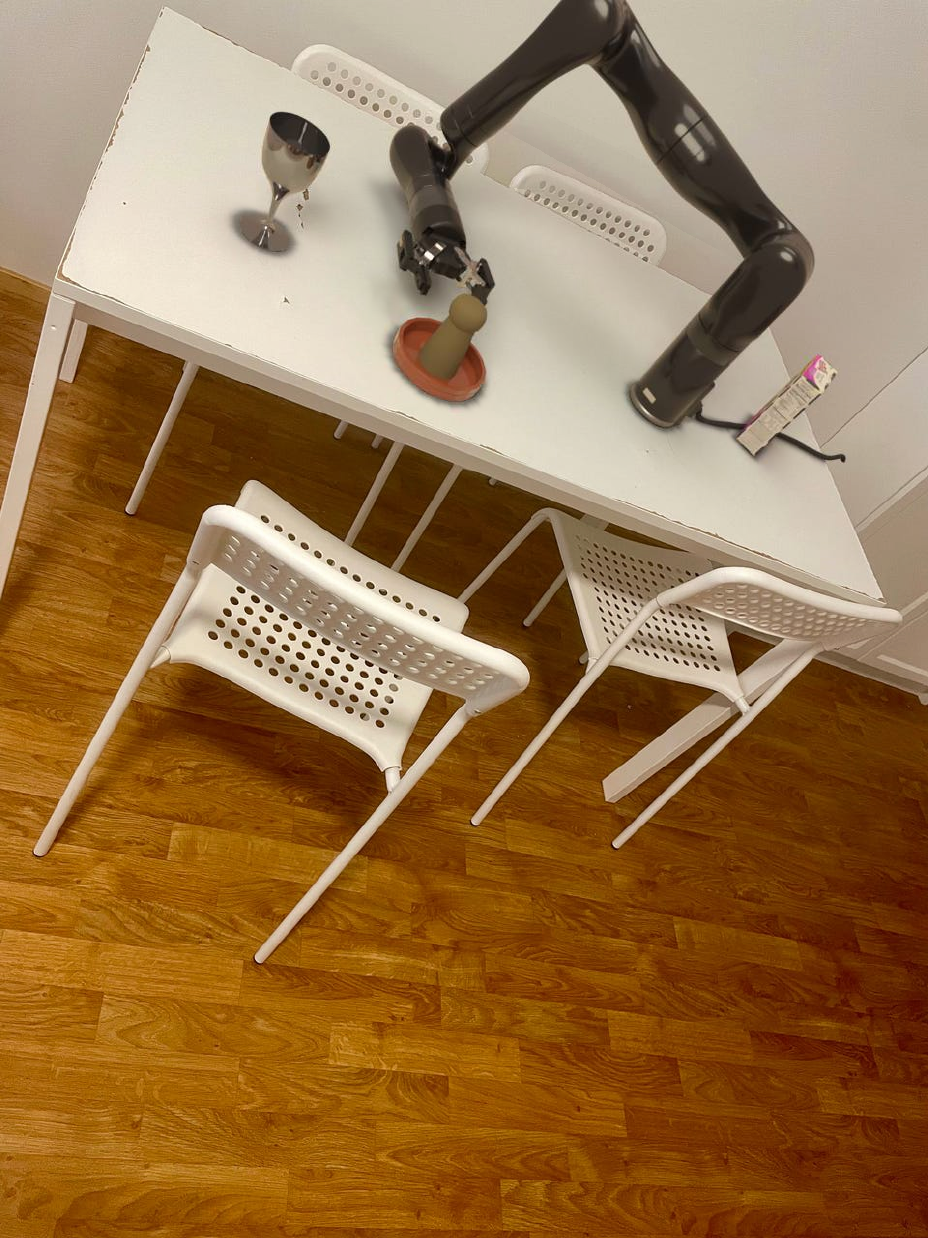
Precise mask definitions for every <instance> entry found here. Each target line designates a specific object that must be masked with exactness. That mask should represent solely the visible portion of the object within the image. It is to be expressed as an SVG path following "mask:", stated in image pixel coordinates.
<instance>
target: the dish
mask: <svg viewBox="0 0 928 1238" xmlns="http://www.w3.org/2000/svg"><path fill="white" fill-rule="evenodd" d="M443 322H444V321H440V320H437V319H434V318H430V317H419V316H417V317H414V318H411V319H407V320H406V321H405V322H403V324H402V325H400V327H399V329H398V331H397V333H396V334H395V337H394V339H393V341H392V353H393V357H394V359H395V362H396V364H397V366H398V368H399V369H400V370H401V372H402V373H403V374H404V376H405V377H406V378H407V379H408V380H409V381H410V382H411V383H412V384H413V385H415V386H416V387H417V388H419V389H421V390H422V391H423V392H425V393H427V394H429V395H431V396H432V397H435V398H436V399H437V398H438V399H441V400H444V401H449V402H463V401H467V400H469V399H471V398H473V397H474V396H475V395H476V394H477V392H478V391H479V390H480V388H481V387H482V385H483V384H484V383H485V380H486V374H487V369H486V365H485V360H484V359H483V356H482V355H481V353H480V351H479V350H478V349H477V347H476V346H475V345H474V344H473V343H472V342H470V344H469V346H468V348H467V351H466V353H465V355H464V357H463V359H462V362H461V364H460V366H459V368H458V371H457V373H456V375H455V376H454V377H453V378H451V379H442V378H438V377H436V376H434V375H432V374H431V373H429V372H428V371H427V370H426V369H425V368H424V367H423V366H422V364H421V363H420V361H419V357H418V354H419V351H420V350H421V349H422V347H423V346H424V345H425V344H426V342H427V341H428V340H429V339H430V338H431V336H432V335H433V334H434V333H435V331H436V330H437V329H438V328H439V327H440V325H441V324H442V323H443Z"/></svg>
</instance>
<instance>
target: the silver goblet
mask: <svg viewBox="0 0 928 1238" xmlns="http://www.w3.org/2000/svg"><path fill="white" fill-rule="evenodd" d="M330 150H331V143H330V140H329V138H328V137H327V136H326V134H325V133H324V132H323V131H322V130H321V129H320V128H319V127H318V126H317V125H315V123H313V122H311V121H310V120H308V119H306V118H304V117H303V116H300V115H298V114H296V113H292V112H288V111H276V112H273V113H271V114H270V116H269V119H268V121H267V124H266V128H265V131H264V135H263V138H262V145H261V166H262V171H263V172H264V174H265V177H266V179H267V181H268V184H269V186H270V189H271V190H270V191H271V202H270V207H269V210H268V214H267V217H266V216H264V215H259V214H246V215H243V216H242V217H241V218H240V219H239V222H238V226H239V227H238V228H239V230H240V231H241V233H242V235H243V236H244V237H245V238H246V239H247V240H248V241H249V242H250V243H251V244H254V245H255V246H257V247H259V248H261V249H263V250H266V251H270V252H278V253H279V252H283V251H286V250H287V249H288V248H289V247H290V241H291V240H290V237H289V234H288V233H287V232H286V230H285V229H284V228H283V227H282V226H281V225H279V224H278V223H277V222H275V221H274V218H275V215H276V213H277V211H278V208H279V207H280V205H281V203H282V202H283V201H284V200H285V199H286V198H288V197H289V196H293V195H295V194H297V193H301V192H303V191H305V190H307V189H309V188H310V187H311V186H312V185H313V183H314V182H315V181H316V179H317V178H318V176H319V175H320V173H321V172H322V169H324V168H323V167H324V165H325V163H326V161H327V159H328V156H329V153H330Z"/></svg>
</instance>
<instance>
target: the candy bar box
mask: <svg viewBox="0 0 928 1238" xmlns="http://www.w3.org/2000/svg"><path fill="white" fill-rule="evenodd" d="M838 373H839V372H838V371H837V369H836V368H835V367H833V366H832V365H831V363H830V362H828V361H827V360H826V359H825V357H823V356H822V355H821V354H819V353H817V354H816V355H815V356H814V357H813V358H812V359H811V360H810V361H809V362H808V363H807V364H806V365H805V366H804V367H802V369H801V370H800V371H799V372H798V373H797V374H796V375H795V376H794V377H792V378H791V379H790V380H789V381H788V382H787V383H786V384H785V385H784V386H783V387H782V388H781V389H780V390H779V391H778V392H777V393H776V394H775V395H774V396H773V397H772V398H771V399H770V400H769V401H768V402H767V403H766V404H765V405H764V406H763V407H762V408H760V409H759V411H758V412H756V414H755V415H753V416H752V418H751V419H750V420H749V422H747V423H746V424H747V425H746V426H745V428H744V429H741V431H740V432H739V434H738V435H737V436H736V437H735V439H736V441H738V443H739V444H740V445H741V446H742V447H743V448H744V449H746V450H747V451H748V452H749V453H750V454H751V455H752V456H753V457H755V456H756V455H757V454H759V453H760V451H762V450H763V449H764V448H765V447H766V446H767V445H768V444H769V443H770V442H772V440H774V439H775V438H776V437H777V435H778V434H779V433H780V432H781V433H782V432H783V430H785V429H786V428H787V427H788V426H789V425H790V424H791V423H792V422H793V421H795V419H796V418H798V416H800V415H801V414H802V413H803V412H804V411H806V409H807V408H809V406H811V405H812V403H814V402H815V401H816V400H817V399H818V398H819V397H820V396H821V395H823V394H824V392H825V391H826V390H827V389H828V387H829V386H830V384H831V383H832V382H833V380H834V379H835V378H836V376H837V374H838Z"/></svg>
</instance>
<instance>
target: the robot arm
mask: <svg viewBox="0 0 928 1238" xmlns="http://www.w3.org/2000/svg"><path fill="white" fill-rule="evenodd" d="M584 65H588V66H589V67H590V68H591V69H592V70H593V71H595V73H596V74H597V75H598V76H599V77H600V78H601V79H602V80H603V81H604V82H605V84H606V85H607V86H608V87H609V88H610V89H611V90H612V91H613V92H614V94H615V95H616V96H617V98H618V99H619V101H620V102H621V104H622V105H623V107H624V108H625V111H626V113H627V114H628V117H629V119H630V121H631V123H632V125H633V128H634V130H635V131H636V135H637V137H638V139H639V141H640V143H641V145H642V147H643V149H644V150H645V152H646V154H647V156H648V157H649V159H650V161H651V162H652V164H653V165H654V166H655V167H656V169H657V170H658V171H659V173H660V175H662V177H663V178H664V179H665V181H667V183H668V184H669V185H670V187H671V188H672V189H673V190H674V191H675V192H676V193H677V194H678V195H679V196H680V197H681V199H683V200H684V201H686V203H688V204H689V205H690V206H692V207H693V208H695V209H696V210H697V211H698V212H700V213H701V214H702V215H704V216H706V217H707V218H709V219H710V220H711V221H712V222H714V223H715V224H716V225H718V226H719V228H720V229H722V231H724V233H725V234H726V235H727V236H728V238H729V239H730V240H731V242H732V243H733V245H734V246H735V247H736V249H737V251H738V252H739V253H740V256H741V257H742V259H743V260H742V261H741V262H740V263H739V264H738V266H737V267H736V268H735V269H734V270H733V271H732V272H731V274H730V275H729V276H728V277H727V278H726V279H725V280H724V282H723V283H722V284H721V285H720V287H718V289H717V290H716V291H715V292H714V293H713V294H712V295H711V296H710V298H709V299H708V300H707V301H706V302H705V304H704V305H703V306H702V307H701V309H699V311H698V312H696V314H695V315H694V316H693V317H692V318H691V319H690V321H689V322H688V323H687V324H686V326H685V327H684V328H683V329H682V330H681V331H680V332H679V334H678V335H677V336H676V337H675V338H674V339H673V340H672V341H671V343H670V344H669V345H668V346H667V347H666V349H665V350H664V351H663V352H662V353H661V354H660V355H659V356H658V357H657V359H656V360H655V361H654V362H653V363H652V364H651V365H650V367H649V368H648V369H647V370H646V371H645V372H644V373H643V375H642V376H641V377H640V379H639V380H637V381H636V382H635V383H634V384H633V385H632V386H631V388H630V390H629V391H630V398H631V401H632V403H633V405H634V406H635V408H636V409H637V411H638V412H639V413H640V414H641V416H643V417H644V418H645V419H646V420H648V421H649V422H650V423H653V425H656V426H659V427H661V428H670V427H672V426H673V425H676V426H678V425H680V423H681V422H682V421H683V420H684V419H685V418H686V417H688V418H693V417H694V416H695V418H696V419H697V420H698V421H699V422H700V423H703V424H705V425H708V426H714V427H722V428H730V429H739V430H743V429H744V428H745V426H746V425H747V424H748V423H741V422H733V421H724V420H723V421H722V420H714V419H708V418H706V417H704V416H703V415H702V413H703V407H704V404H703V402H702V401H703V400H704V399H705V398H706V397H707V396H708V395H709V394H710V392H712V391H713V389H715V387H716V382H715V381H717V379H718V378H719V377H720V376H721V375H722V374H723V373H724V372H725V371H726V370H727V369H728V368H729V367H730V366H731V365H732V363H733V362H734V361H736V360H737V358H738V357H740V355H742V353H743V352H744V351H746V349H747V348H748V347H749V346H750V345H751V344H752V343H753V342H755V341H756V340H757V339H758V338H759V337H761V336H762V335H763V334H764V333H765V331H766V330H767V329H768V328H769V327H770V326H771V325H772V324H773V323H774V322H775V321H776V320H777V319H778V318H779V317H780V316H781V315H782V314H783V313H784V312H785V311H786V310H787V309H788V308H789V307H790V306H791V305H792V304H793V303H794V302H795V300H796V299H797V298H798V297H799V296H800V295H801V293H802V292H803V290H804V289H805V287H806V286H807V284H808V283H809V281H810V279H811V277H812V275H813V274H814V270H815V264H816V257H815V252H814V249H813V246H812V244H811V242H810V241H809V240H808V238H807V237H806V236H805V235H804V233H802V232H801V231H800V229H798V227H796V225H795V224H794V223H793V222H792V221H791V220H790V219H789V218H788V217H787V216H786V215H785V214H784V213H783V212H782V211H781V209H780V208H778V207H777V205H776V204H775V203H773V201H772V200H771V199H770V198H769V196H768V195H767V194H766V193H765V192H764V190H763V189H762V187H761V186H760V184H759V183H758V181H757V180H756V178H755V176H754V175H753V173H752V172H751V170H750V169H749V167H748V166H747V164H746V163H745V162H744V161H743V159H742V157H741V156H740V155H739V154H738V153H739V152H737V151H736V149H735V147H734V146H733V145H732V143H731V142H730V141H729V139H728V137H727V136H726V135H725V132H724V131H722V130H723V129H721V127H720V126H719V125H718V124H717V122H716V121H715V120H714V118H713V117H712V116H711V114H710V112H708V110H707V109H706V108H705V107H704V106H703V104H702V103H701V102H700V101H699V99H698V98H697V97H696V96H695V95H694V93H693V92H692V91H691V90H690V88H688V87H687V85H686V84H685V83H684V82H683V81H682V80H681V79H680V78H679V76H678V75H677V74H676V73H675V72H674V71H673V70H672V69H671V68H670V67H669V65H667V64H666V62H665V61H664V60H663V58H662V57H661V56H660V55H659V53H658V51H657V50H656V48H655V47H654V45H653V43H652V42H651V40H650V38H649V37H648V35H647V33H646V32H645V31H644V28H643V27H642V25H641V23H640V22H639V20H638V18H637V17H636V15H635V13H634V11H633V9H632V7H631V6H630V4H629V3H628V0H560V1H559V2H558V3H557V4H556V5H555V6H554V7H553V8H552V9H551V11H549V13H548V14H547V15H546V16H545V18H544V19H543V20H542V21H541V22H540V23H539V25H538V26H537V27H536V28H535V29H534V31H532V32H531V33H530V34H529V36H527V38H526V39H525V40H524V41H523V42H522V43H521V44H520V45H519V46H518V47H517V48H516V49H515V50H514V51H513V52H512V53H510V55H508V56H507V57H506V58H505V59H504V60H502V61H501V62H500V63H499V64H498V65H496V66H495V68H493V69H492V70H491V71H489V72H488V73H487V74H486V75H485V76H483V77H482V78H481V79H480V80H479V81H477V82H476V83H474V84H473V85H472V86H471V87H470V88H469V89H467V90H466V91H465V92H464V93H463V94H461V95H460V96H459V97H457V98H456V99H455V100H454V101H453V102H451V103H450V104H449V105H448V106H447V107H446V108H445V109H444V110H443V111H442V112H441V114H440V116H439V127H440V130H441V133H442V135H443V138H444V140H445V141H446V143H447V144H446V145H445V146H443V147H442V146H441V145H440V144H439V143H438V142H437V141H436V140H435V138H433V137H432V136H431V135H430V134H429V132H428V131H427V130H425V128H423V127H422V126H419V125H417V124H407V125H404V126H402V127H401V128H400V129H398V130H397V131H396V132H395V133H394V135H393V137H392V139H391V142H390V145H389V149H388V150H389V151H388V156H389V157H388V158H389V163H390V166H391V169H392V172H393V174H394V176H395V178H396V179H397V181H398V183H399V186H400V187H401V189H402V190H403V193H404V194H405V196H406V201H407V206H408V211H409V224H410V228H411V231H409V229H408V230H407V229H404V230H403V232H402V233H401V236H400V238H399V240H398V242H397V244H396V249H397V250H396V251H397V259H398V267H399V269H400V270H401V271H402V272H407V271H408V272H411V276H412V277H413V278H414V283H415V287H416V289H417V291H419V295H421V296H424V297H426V296H427V295H428V293H429V292H430V289H431V288H432V284H433V283H432V278H431V274H430V271H432V272H434V274H436V275H439V276H444V277H446V278H448V279H450V280H452V281H453V282H454V283H455V285H457V286H458V288H460V289H464V290H465V291H466V292H467V294H469V295H472V296H474V297H476V298H477V299H479V300H480V301H481V302H482V303H483V304H484V306H485V307H486V306H487V304H488V297H489V296H490V293H491V292H492V290H493V289H494V288H495V286H496V283H495V280H494V279H495V278H494V276H493V274H492V270H491V267H490V265H489V262H488V260H487V259H486V258H484V257H480V259H479V261H478V260H477V261H476V260H474V259H471V256H470V255H469V254H468V252H467V236H466V233H465V229H464V225H463V221H462V218H461V214H460V210H459V206H458V204H457V202H456V200H455V196H454V193H453V189H452V185H451V181H452V180H453V178H454V176H455V175H456V174H457V173H458V171H459V170H460V169H461V168H462V166H463V165H464V163H465V162H466V161H467V159H468V158H469V157H470V156H471V154H472V153H473V152H474V151H476V150H477V149H478V148H479V147H480V146H482V145H483V144H484V143H486V142H488V140H490V139H491V138H492V137H494V136H495V135H496V134H497V133H498V132H500V131H501V130H502V129H504V128H505V127H506V126H507V125H509V123H510V122H511V121H512V120H513V119H514V118H515V117H516V116H517V115H518V114H519V113H520V112H521V110H522V109H523V108H524V107H525V106H526V105H527V104H528V103H529V102H530V101H531V100H532V99H533V98H534V97H535V96H536V95H537V94H539V93H540V92H541V91H542V90H543V89H545V88H546V87H547V86H549V85H550V84H551V83H553V82H554V81H556V80H557V79H559V78H561V77H563V76H564V75H566V74H568V73H570V72H571V71H574V70H576V69H577V68H579V67H581V66H584ZM415 253H416V255H417V257H418V258H416V257H415ZM464 273H465V274H464ZM461 275H464V276H463V277H462V278H461ZM472 281H473V282H474V285H472V283H471V282H472ZM776 437H777V438H779V439H781V440H783V441H786V442H787V443H790V444H792V445H795V446H797V447H799V448H801V449H802V450H804V451H806V452H807V453H810V454H811V455H813V456H815V457H817V458H819V459H822V460H824V461H829V462H830V461H836V460H840V462H842V463H843V464H844V463H845V462H846V459H847V456H846V455H845V454H844V453H837V454H833V455H828V454H824V453H822V452H820V451H818V450H817V449H814V448H812V447H811V446H809V445H807V444H806V443H804V442H802V441H800V440H798V439H797V438H794V437H792V436H790V435H787V434H785V433H783V432H782V431H781V432H780V433H779V434H778V435H777V436H776Z"/></svg>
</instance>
